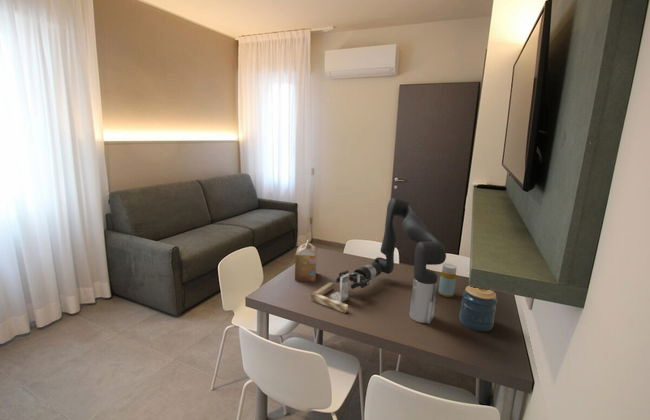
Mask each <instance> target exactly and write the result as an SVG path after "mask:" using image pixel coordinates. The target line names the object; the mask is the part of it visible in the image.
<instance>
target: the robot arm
mask: <svg viewBox="0 0 650 420" xmlns="http://www.w3.org/2000/svg"><path fill="white" fill-rule="evenodd" d="M395 217H399V218H402V219H403V221H402V223H401V227H402V230H403V232H404V233H405V235H406V236H407V237H408V238H409V239H410V241H413V242H415V243H417V244H416V245H415V249H414V250H415V251H414V264H413V266H414V267H413V279H412V280H413V282H412V287H411V288H412V290H411V296H410V297H411V298H410V305H409V306H410V308H409V317H410V319H412V320H413V321H414V322H418V323H421V324H431V322H432V321H433V319H434V317H435V316H434V315H435V308H436V301H437V297H436V292H437V284H438V274H437V272H435V271H433V270H431V269H430V268H429V269H428V268H427V266H428V265H429V266H434V265H435V266H437V265H441V264H442V265H443V264H444V263H445V262H446V259H447V252H446V249H445V247H444V245H443V244H442V243H441V241H439V239H437V238H436V236H434V235H433V233H431V231H429V229H428V228H427V226H426V225H425V224H424V222H423V221H422V220H421V219H420V217H419V215H417V213H416V212H415V210H414V207H412V204H411V202H409V201H408V200H406V199H402V198H398V197H392V198H391V199H390V200H389V201H388V204H387V206H386V216H385V225H384V234H383V239H382V242H381V246H380V253H382V255H384V256H385V258H383V257H380V256H379V257H378V256H377V257H376V258H374V260H373V261H372V262H371V263H368V264H365V265H363V266H360V267H358V268H355V270H354V271H352V272H349V270H344V271H342V272H339V273H338V276H337V277H336V283H340V277H342V276H344V275H347V274H348V275H349V282H352V283H351V284H350V289H352V290H354V289H356V288H360V289H364V288H366V287H367V286H369V285H370V281H371V280H374V279H375V278H376V277H378V276H379V275H381V274H382V273H384V274H387V275H389V274H391V273H393V270H394V268H395V257H394V255H395V249H396V246H397V242H398V241H397V234H396V231H395V226H394V218H395Z"/></svg>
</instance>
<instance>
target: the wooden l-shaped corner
mask: <svg viewBox="0 0 650 420" xmlns="http://www.w3.org/2000/svg"><path fill="white" fill-rule="evenodd" d="M332 290H334V282H330V281H329V282H328V283H326V284H324V285H323V286H322V287H320V288H319V289H317V290H315V291H313V292H312V293H311V294H310V301H312V302H314V303H317V304H320V305H323V306H326V307H328V308H331V309H333V310H336V311H338V312H342V313H344V314H346V313H348V310H349V305H348V304H346V303H344V302H339V301H336V300H334V299H332V298H330V297H327V296H325V295H326V294H328V293H329V292H331V291H332Z"/></svg>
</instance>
